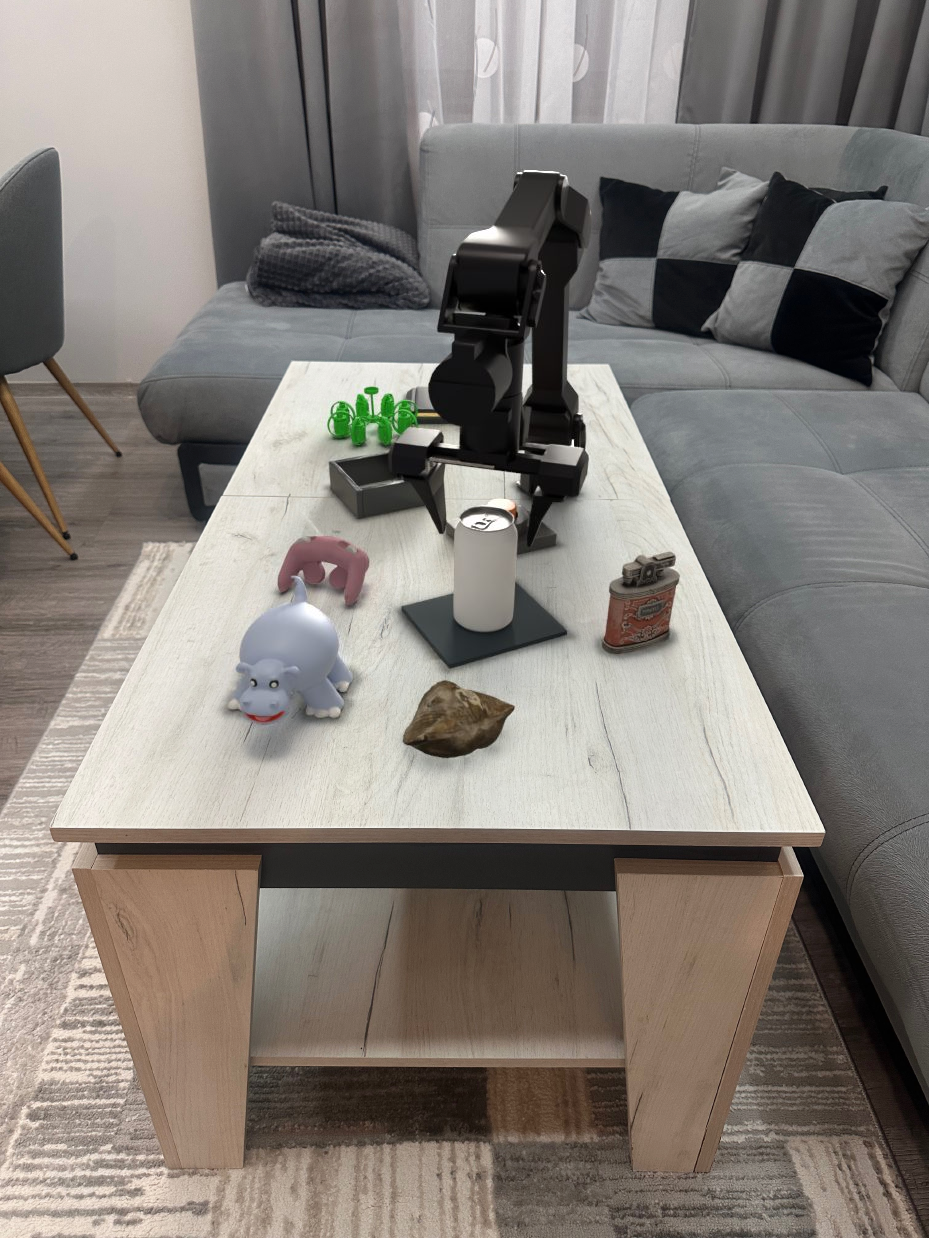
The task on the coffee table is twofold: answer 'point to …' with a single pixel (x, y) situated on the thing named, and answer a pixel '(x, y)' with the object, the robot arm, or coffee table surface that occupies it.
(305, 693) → the hippopotamus toy
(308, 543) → the video game controller
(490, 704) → the fossilized seashell
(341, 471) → the box
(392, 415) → the chandelier
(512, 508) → the button
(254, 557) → the coffee table surface
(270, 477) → the coffee table surface
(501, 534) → the can
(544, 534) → the button box
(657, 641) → the lighter
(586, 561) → the coffee table surface
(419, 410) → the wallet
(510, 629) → the mat
